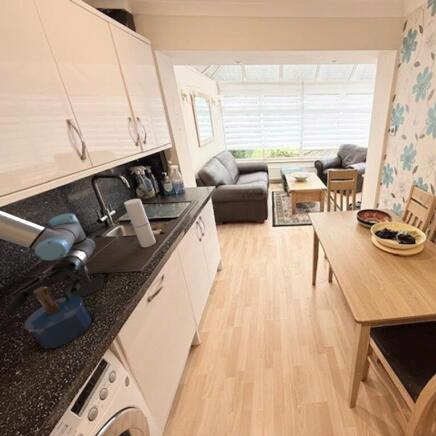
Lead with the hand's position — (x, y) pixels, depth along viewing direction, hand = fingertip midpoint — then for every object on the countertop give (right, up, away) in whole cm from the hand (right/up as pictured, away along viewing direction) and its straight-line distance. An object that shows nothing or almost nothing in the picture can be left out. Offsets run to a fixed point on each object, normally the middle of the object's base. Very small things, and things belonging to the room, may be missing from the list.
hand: (38, 304), depth 69 cm
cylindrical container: (-3, +11, +59) cm, 60 cm away
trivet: (-11, -4, +29) cm, 31 cm away
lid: (-1, -5, +6) cm, 7 cm away
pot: (0, -12, +9) cm, 16 cm away
